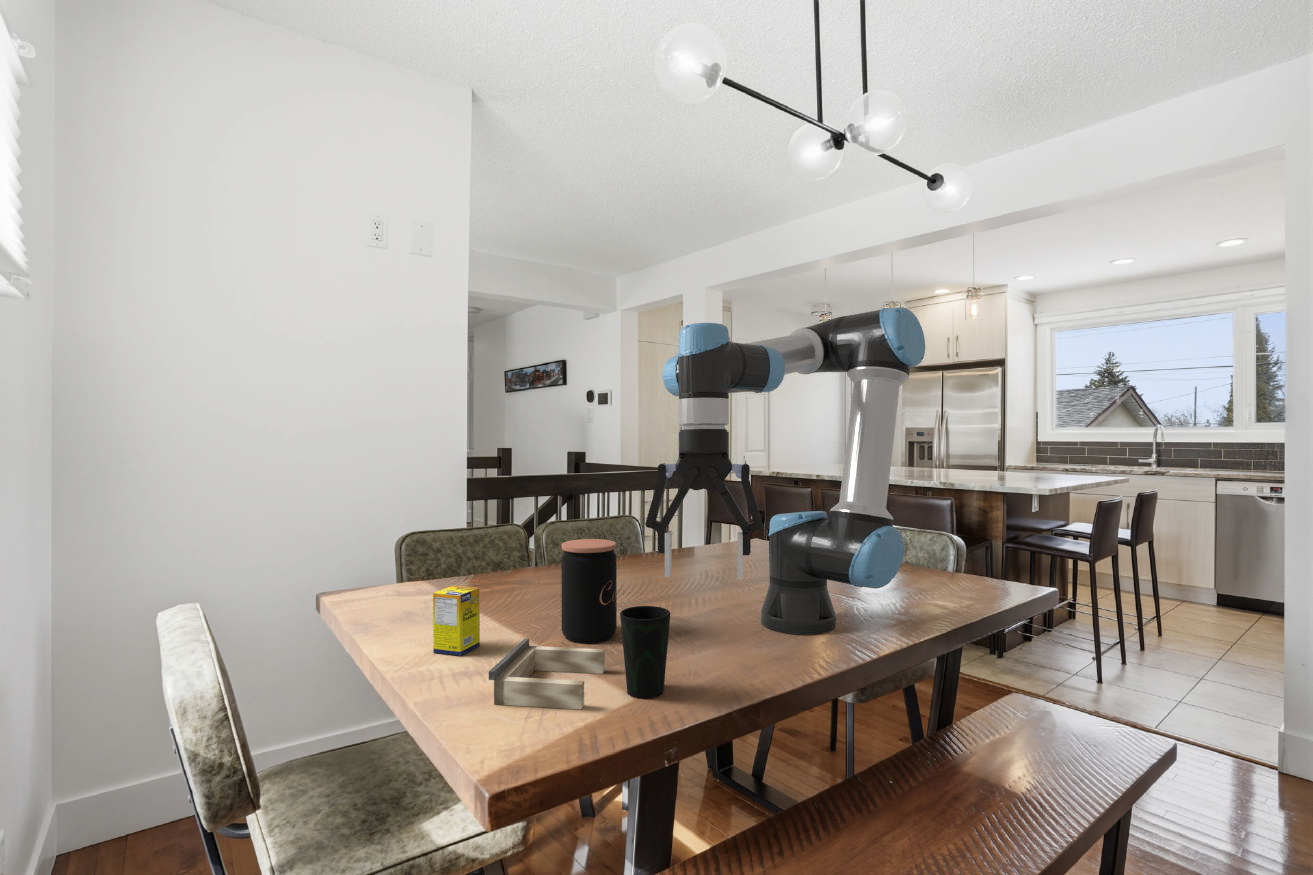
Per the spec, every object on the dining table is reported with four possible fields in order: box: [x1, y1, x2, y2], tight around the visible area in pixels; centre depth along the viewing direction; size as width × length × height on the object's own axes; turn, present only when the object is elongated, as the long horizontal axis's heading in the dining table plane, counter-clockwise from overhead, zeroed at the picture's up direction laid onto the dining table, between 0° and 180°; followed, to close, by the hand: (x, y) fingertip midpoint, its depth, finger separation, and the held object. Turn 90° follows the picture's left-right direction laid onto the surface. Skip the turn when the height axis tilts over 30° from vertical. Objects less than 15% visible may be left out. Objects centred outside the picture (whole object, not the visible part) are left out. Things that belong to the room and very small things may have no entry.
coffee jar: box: [560, 538, 618, 644], centre depth 122 cm, size 11×11×18 cm
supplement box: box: [432, 585, 481, 657], centre depth 114 cm, size 6×6×11 cm
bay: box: [488, 638, 606, 710], centre depth 97 cm, size 14×15×5 cm
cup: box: [619, 605, 671, 700], centre depth 95 cm, size 8×8×12 cm
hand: (703, 575), depth 94 cm, fingers open, 10 cm apart
